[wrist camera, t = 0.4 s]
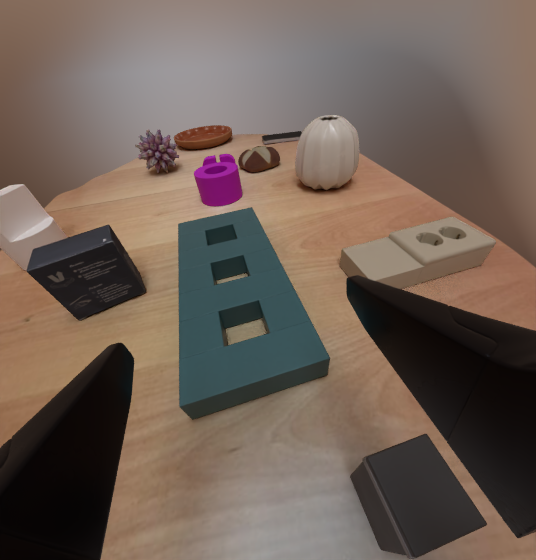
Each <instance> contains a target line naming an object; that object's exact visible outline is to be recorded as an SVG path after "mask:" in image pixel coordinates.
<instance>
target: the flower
mask: <svg viewBox="0 0 536 560" xmlns="http://www.w3.org/2000/svg"><path fill="white" fill-rule="evenodd" d="M146 135H147V138H145V137H142V136H141V135H140V136H139V137H140V139H141V141H142V142H143V143H139V144H140V145H135V146H136V147H138V148H139V149H140V152H142V153H141V154H140V155H139V157H138V158H139V159H144V160H147V163H146V164H147V167H146V168H148V169H149V168H151V167H153V166H154V165H155V167H156V170H157V173H159V172H160V169H161V167H162V168H163V169H164V170H165V171H166V173H167V172H168V165H169V166H172V167H174V168H175V165H176V164H175V163H174V161H173V160H175V158H179V155H176V154H177V153H176V151H174V149H176V146H177V145H176V144H170V143H169V142H170V140H171V139H170V135H168V136H167V137H164V138H163V139H162V135H161V133H160V130H158V131H157V133H156V135H155V136H154V135H153V134H152V133H151V132H150V131H149V130H147V133H146Z"/></svg>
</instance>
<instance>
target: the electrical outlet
mask: <svg viewBox="0 0 536 560" xmlns="http://www.w3.org/2000/svg"><path fill="white" fill-rule="evenodd" d="M495 244H496V241H495V240H494V239H493V238H491V237H489V236H487V235H486V234H484V233H482V232H480V231H478V230H477V229H475V228H473V227H471V226H469V225H468V224H466V223H464V222H462V221H460V220H458V219H457V218H455V217H448V218H445V219H441V220H437V221H433V222H429V223H425V224H421V225H418V226H414V227H410V228H406V229H402V230H398V231H394V232H391V233H390V234H389V237H386V238H382V239H378V240H374V241H370V242H366V243H363V244H359V245H355V246H351V247H347V248H344V249H342V252H341V259H340V267H341V268H342V269H343V271H344V272H345V273H346V274H347V276H348V277H351V276H354V275H359V276H362V277H365V278H368V279H371V280H374V281H377V282H380V283H383V284H386V285H389V286H392V287H395V288H398V289H402V288H405V287H409V286H412V285H416V284H419V283H422V282H426V281H429V280H432V279H436V278H439V277H443V276H446V275H449V274H453V273H456V272H459V271H463V270H466V269H470V268H473V267H476V266H480V265H482V263H483V262H484V260H485V259H486V257H487V256H488V254H489V253H490V251H491V250H492V248H493V247H494V245H495Z"/></svg>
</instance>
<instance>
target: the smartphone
mask: <svg viewBox="0 0 536 560" xmlns="http://www.w3.org/2000/svg"><path fill="white" fill-rule="evenodd" d="M301 134H302V132H301V131H298V132H290V133H282V134H273V135H265V136H262V140H263V143H264V144H269V143H278V142H286V141H294V140H299V139H300V136H301Z"/></svg>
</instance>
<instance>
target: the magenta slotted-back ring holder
mask: <svg viewBox="0 0 536 560" xmlns="http://www.w3.org/2000/svg"><path fill="white" fill-rule="evenodd" d="M194 176H195V180H196V183H197V186H198V189H199V193H200V196H201V199H202V202H203V203H204V204H205V205H208V206H223V205H227V204H231V203H233V202H235V201H237V200H239V199H240V198H241V196H242V189H241V183H240V177H239V172H238V166H237V165H236V164H235V159H234V158H233V156H232V155H230V154H222V155H220V162H218V163H217V162H216V157H215V156H208V157H206V158H205V159H204V162H203V166H202V167H200V168H198V169H197V170H196V171H195V172H194Z"/></svg>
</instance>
